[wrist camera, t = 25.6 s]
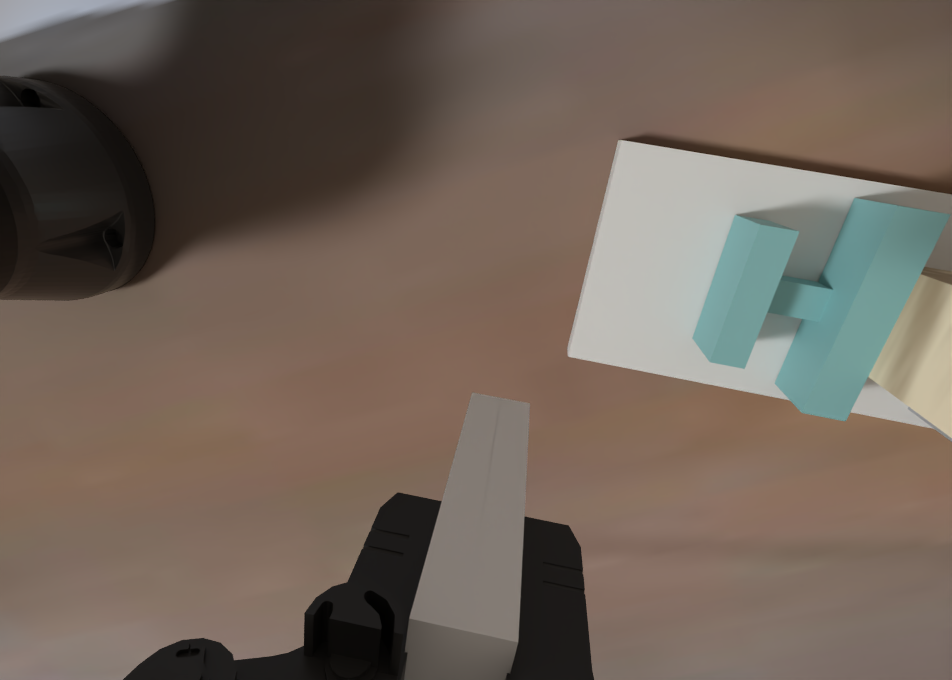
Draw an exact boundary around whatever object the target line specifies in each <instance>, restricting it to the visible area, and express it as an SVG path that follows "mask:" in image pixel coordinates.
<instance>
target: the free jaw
mask: <svg viewBox="0 0 952 680" xmlns="http://www.w3.org/2000/svg"><path fill="white" fill-rule="evenodd" d="M950 215H951V214H945V213H939V212H934V211H928V210H922V209H917V208H911V207H905V206H900V205H894V204H888V203H882V202H876V201H870V200H864V199H858V198H854V200H853V202H852V205H851V207H850V209H849V212H848V214H847V216H846V219H845V221H844V223H843V226H842V228H841V230H840V232H839V235H838V237H837V239H836V242H835V244H834V246H833V249H832V251H831V253H830V256H829V258H828V260H827V263H826V265H825V267H824V270H823V272H822V274H821V277H820V279H819V281H818V282H816V281H811V280H805V279H800V278H794V277H788V276H783V275H782V274H783V272H784V269H785V267H786V264H787V262H788V259H789V257H790V254H791V252H792V249H793V247H794V244H795V242H796V239H797V237H798V234H799V232H800V231H797V230H794V229H791V228H789V227H786V226H783V225H780V224H777V223H774V222H772V221H768V220H762V219H756V218H750V217H745V216H739V215H735V216H734V219H733V222H732V225H731V228H730V231H729V234H728V236H727V239H726V242H725V245H724V248H723V251H722V254H721V257H720V260H719V262H718V265H717V268H716V271H715V274H714V277H713V280H712V283H711V286H710V288H709V291H708V294H707V297H706V300H705V303H704V306H703V309H702V311H701V314H700V317H699V320H698V323H697V326H696V329H695V332H694V335H693V337H692V339H693V340H694V341H695V343H696V344H697V345H698V347H699V348H700V350H701V351H702V352H703V354H704V355H705V356H706V358H707V359H708V361H709V362H711V363H716V364H721V365H727V366H732V367H737V368H742V369H745V367H746V364H747V362H748V359H749V357H750V354H751V352H752V349H753V347H754V344H755V342H756V339H757V337H758V334H759V332H760V329H761V327H762V324H763V322H764V319H765V317H766V314H767V312H768V313H773V314H778V315H784V316H789V317H795V318H800V319H802V321H801V323H800V325H799V328H798V330H797V332H796V335H795V337H794V339H793V342H792V344H791V346H790V349H789V351H788V353H787V356H786V358H785V360H784V362H783V365H782V367H781V369H780V372H779V374H778V376H777V379H776V381H775V383H774V384H775V385H776V386H777V387H778V388H779V389H780V390H781V391H782V392H783V393H784V394H785V395H786V396H787V397H788V399H789V400H790V401H791V402H792V403H793V404H794V405H795V406H796V407H797V408H798V409H799V410H800V411H801V412H802V413H806V414H811V415H816V416H821V417H826V418H831V419H836V420H841V421H846V420H847V418H848V416H849V414H850V412H851V410H852V408H853V406H854V404H855V402H856V400H857V398H858V396H859V394H860V392H861V390H862V388H863V386H864V384H865V382H866V380H867V378H868V376H869V374H870V372H871V370H872V368H873V367H874V365H875V363H876V361H877V359H878V357H879V355H880V353H881V351H882V349H883V347H884V345H885V343H886V341H887V339H888V337H889V335H890V333H891V331H892V329H893V327H894V325H895V323H896V321H897V319H898V317H899V315H900V313H901V311H902V310H903V308H904V306H905V304H906V302H907V300H908V298H909V296H910V294H911V292H912V290H913V288H914V286H915V284H916V282H917V280H918V278H919V276H920V274H921V272H922V270H923V268H924V266H925V264H926V262H927V260H928V258H929V256H930V255H931V253H932V251H933V249H934V247H935V245H936V243H937V241H938V239H939V237H940V235H941V233H942V231H943V229H944V227H945V225H946V223H947V221H948V219H949V217H950Z"/></svg>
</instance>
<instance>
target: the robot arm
mask: <svg viewBox="0 0 952 680" xmlns="http://www.w3.org/2000/svg"><path fill="white" fill-rule="evenodd" d="M153 236H154V208H153V202H152V196H151V192H150V189H149V185H148V182H147V179H146V177H145V174H144V171H143V169H142V167H141V165H140V163H139V161H138V159H137V157H136V155H135V153H134V152H133V150H132V148H131V147H130V145H129V144H128V142H127V141H126V139H125V138H124V137H123V135H122V134H121V133H120V131H119V130H118V129H117V128H116V127H115V125H114V124H113V123H112V122H111V121H110V120H109V119H108V118H107V117H106V116H105V115H104V114H103V113H102V112H101V111H100V110H98V109H97V108H96V107H95V106H94V105H92V104H91V103H90V102H88V101H87V100H85V99H84V98H82V97H81V96H79V95H77V94H76V93H74V92H72V91H70V90H68V89H66V88H64V87H61V86H59V85H56V84H53V83H50V82H46V81H41V80H35V79H27V78H18V77H10V76H0V300H58V301H69V300H78V299H84V298H89V297H92V296H95V295H98V294H102V293H105V292H108V291H111V290H113V289H116V288H118V287H120V286H122V285H124V284H125V283H127V282H128V281H130V280H131V279H132V278H133V277H134V276H135V275H136V274H137V273H138V272H139V271H140V269H141V268H142V266H143V265H144V263H145V261H146V259H147V257H148V255H149V252H150V249H151V246H152V242H153ZM529 413H530V403H525V402H520V401H514V400H509V399H504V398H499V397H493V396H488V395H483V394H478V393H472V395H471V399H470V402H469V406H468V409H467V413H466V417H465V420H464V424H463V427H462V431H461V434H460V438H459V442H458V445H457V449H456V452H455V456H454V460H453V463H452V467H451V470H450V474H449V477H448V481H447V485H446V488H445V492H444V495H443V499H442V501H437V500H432V499H427V498H423V497H418V496H413V495H408V494H403V493H397V494H395V495H394V496H393V497H392V498H391V499H390V500H389V501H387V502H386V503H385V504H384V505H383V506H382V507H380V510H379V512H378V514H377V516H376V519H375V521H374V523H373V525H372V528H371V532H369V535H368V537H367V539H366V541H365V544H364V547H363V549H362V550H361V553H360V555H359V557H358V560H357V562H356V564H355V566H354V569H353V571H352V573H351V575H350V578H349V580H348V582H347V583H343V584H340V585H336V586H333V587H331V588H330V589H328V590H327V591H325V592H324V593H322V594H321V595H319V596H318V597H316V599H315V600H314V601H313V603H312V604H311V605H310V607H309V608H308V609H307V610H306V612H305V623H304V646H303V647H300V648H298V649H296V650H294V651H291V652H289V653H285V654H280V655H276V656H270V657H261V658H252V659H243V660H234V659H233V655H232V653H231V652H230V651H228V650H227V649H226V648H225V647H224V646H223V645H222V644H221V643H219V642H216V641H212V640H208V639H205V638H199V639H189V640H181V641H179V642H176V643H174V644H172V645H169V646H167V647H164V648H162V649H160V650H158V651H157V652H155V653H154V654H153V655H151V656H150V657H149V658H147V659H146V660H145V661H143V662H142V663H140V664H139V665H138V666H137V667H136V668H135V669H134V670H133V671H132V672H131V673H130V674H128V675H127V676H126V677H125V678H124V679H123V680H594V677H593V672H592V664H591V653H590V642H589V631H588V621H587V610H586V599H585V594H584V590H585V588H584V577H583V574H582V572H583V567H582V556H581V547H580V545H579V543H578V541H577V540H576V538H575V536H574V534H573V532H572V531H571V529H570V527H569V526H568V525H563V524H558V523H553V522H548V521H544V520H539V519H534V518H529V517H524V515H525V495H526V474H527V454H528V434H529Z"/></svg>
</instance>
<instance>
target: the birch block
mask: <svg viewBox="0 0 952 680" xmlns="http://www.w3.org/2000/svg"><path fill="white" fill-rule="evenodd" d="M868 377H869V378H870V379H872V380H873V381H874V382H876V383H877V384H879V385H880V386H881V387H883V388H884V389H885V390H887V391H888V392H889V393H891V394H892V395H894V396H895V397H896V398H898V399H899V400H900V401H902V402H903V403H904V404H906V405H907V406H909V407H910V408H911V409H913V410H914V411H915V412H917V413H918V414H919V415H921V416H922V417H923V418H925V419H926V420H928V421H929V422H930V423H932V424H933V425H934V426H936V427H937V428H938V429H940V430H941V431H943V432H944V433H945V434H947V435H948V436H949V437H951V438H952V271H946V270H941V269H935V268H929V267H924V268H923V270H922V272H921V274H920V276H919V278H918V280H917V282H916V284H915V286H914V288H913V290H912V292H911V294H910V296H909V298H908V300H907V302H906V304H905V306H904V308H903V310H902V311H901V313H900V315H899V317H898V319H897V321H896V323H895V325H894V327H893V329H892V331H891V333H890V335H889V337H888V339H887V341H886V343H885V345H884V347H883V349H882V351H881V353H880V355H879V357H878V359H877V361H876V363H875V365H874V367H873V368H872V370H871V372H870V374H869V376H868Z"/></svg>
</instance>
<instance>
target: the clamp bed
mask: <svg viewBox="0 0 952 680" xmlns="http://www.w3.org/2000/svg"><path fill="white" fill-rule="evenodd" d="M854 198H858V199H864V200H870V201H876V202H882V203H888V204H894V205H900V206H905V207H911V208H917V209H922V210H928V211H934V212H939V213H945V214H951V215H950V217H949V219H948V221H947V223H946V225H945V227H944V229H943V231H942V233H941V235H940V237H939V239H938V241H937V243H936V245H935V247H934V249H933V251H932V253H931V255H930V256H929V258H928V260H927V262H926V264H925V266H924V267H929V268H935V269H941V270H946V271H952V194H946V193H940V192H933V191H927V190H921V189H915V188H909V187H903V186H897V185H891V184H885V183H879V182H873V181H867V180H861V179H855V178H849V177H842V176H836V175H830V174H824V173H818V172H812V171H806V170H800V169H794V168H788V167H782V166H776V165H770V164H764V163H758V162H751V161H745V160H739V159H733V158H727V157H721V156H715V155H709V154H703V153H697V152H691V151H685V150H679V149H673V148H666V147H660V146H654V145H648V144H642V143H636V142H630V141H624V140H618V144H617V148H616V152H615V156H614V160H613V164H612V168H611V172H610V176H609V180H608V185H607V189H606V193H605V197H604V201H603V205H602V209H601V213H600V217H599V221H598V225H597V230H596V234H595V238H594V242H593V246H592V250H591V254H590V258H589V262H588V266H587V270H586V274H585V279H584V283H583V287H582V291H581V295H580V299H579V303H578V307H577V311H576V315H575V319H574V323H573V328H572V332H571V336H570V340H569V344H568V348H567V349H568V357H573V358H578V359H583V360H588V361H593V362H598V363H604V364H609V365H614V366H619V367H624V368H629V369H634V370H639V371H644V372H649V373H654V374H659V375H664V376H670V377H675V378H680V379H685V380H690V381H695V382H700V383H705V384H710V385H715V386H720V387H725V388H730V389H735V390H741V391H746V392H751V393H756V394H761V395H766V396H771V397H776V398H781V399H786V400H789V399H788V397H787V396H786V395H785V394H784V393H783V392H782V391H781V390H780V389H779V388H778V387H777V386H776V385H775V384H774V383H775V381H776V379H777V376H778V374H779V372H780V369H781V367H782V365H783V362H784V360H785V358H786V356H787V353H788V351H789V349H790V346H791V344H792V342H793V339H794V337H795V335H796V332H797V330H798V328H799V325H800V323H801V321H802V319H800V318H795V317H789V316H784V315H778V314H773V313H768V312H767V314H766V317H765V319H764V322H763V324H762V327H761V329H760V332H759V334H758V337H757V339H756V342H755V344H754V347H753V349H752V352H751V354H750V357H749V359H748V362H747V364H746V367H745V369H742V368H737V367H732V366H727V365H721V364H716V363H711V362H709V361H708V359H707V358H706V356H705V355H704V354H703V352H702V351H701V350H700V348H699V347H698V345H697V344H696V343H695V341H694V340H693V339H692V337H693V335H694V332H695V329H696V326H697V323H698V320H699V317H700V314H701V311H702V309H703V306H704V303H705V300H706V297H707V294H708V291H709V288H710V286H711V283H712V280H713V277H714V274H715V271H716V268H717V265H718V262H719V260H720V257H721V254H722V251H723V248H724V245H725V242H726V239H727V236H728V234H729V231H730V228H731V225H732V222H733V219H734V216H735V215H739V216H745V217H750V218H756V219H762V220H768V221H772V222H774V223H777V224H780V225H783V226H786V227H789V228H791V229H794V230H797V231H800V232H799V234H798V237H797V239H796V242H795V244H794V247H793V249H792V252H791V254H790V257H789V259H788V262H787V264H786V267H785V269H784V272H783V274H782V275H783V276H788V277H794V278H800V279H805V280H811V281H816V282H818V281H819V279H820V277H821V274H822V272H823V270H824V267H825V265H826V263H827V260H828V258H829V256H830V253H831V251H832V249H833V246H834V244H835V242H836V239H837V237H838V235H839V232H840V230H841V228H842V226H843V223H844V221H845V219H846V216H847V214H848V212H849V209H850V207H851V205H852V202H853V200H854ZM851 412H852V413H857V414H862V415H867V416H872V417H877V418H883V419H888V420H893V421H898V422H903V423H908V424H913V425H918V426H923V427H928V428H933V429H935V430H937V431H938V432H939V433H941V434H942V435H943V436H945V437H946V438H947V439H949V440H950V441H951V442H952V438H951V437H949V436H948V435H947V434H945V433H944V432H943V431H941V430H940V429H938V428H937V427H936V426H934V425H933V424H932V423H930V422H929V421H928V420H926V419H925V418H923V417H922V416H921V415H919V414H918V413H917V412H915V411H914V410H913V409H911V408H910V407H909V406H907V405H906V404H904V403H903V402H902V401H900V400H899V399H898V398H896V397H895V396H894V395H892V394H891V393H889V392H888V391H887V390H885V389H884V388H883V387H881V386H880V385H879V384H877V383H876V382H874V381H873V380H872V379H870V378H869V377H868V378H867V380H866V382H865V384H864V386H863V388H862V390H861V392H860V394H859V396H858V398H857V400H856V402H855V404H854V406H853V408H852V410H851Z"/></svg>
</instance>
